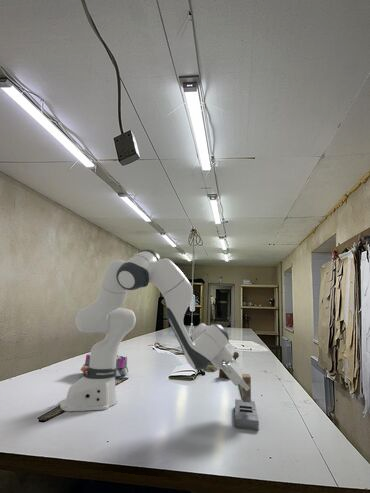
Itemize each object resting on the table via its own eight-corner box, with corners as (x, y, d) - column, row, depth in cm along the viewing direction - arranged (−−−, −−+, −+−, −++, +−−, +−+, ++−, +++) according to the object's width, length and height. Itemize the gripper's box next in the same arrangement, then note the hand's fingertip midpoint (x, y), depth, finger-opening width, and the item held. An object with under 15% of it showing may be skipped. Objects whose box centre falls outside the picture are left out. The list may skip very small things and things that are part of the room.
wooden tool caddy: (242, 375, 184) (242, 352, 186) (230, 379, 171) (230, 355, 174) (230, 373, 188) (231, 351, 191) (218, 377, 176) (218, 353, 179)
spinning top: (103, 382, 150) (108, 350, 154) (68, 374, 165) (73, 345, 169) (138, 378, 172) (141, 350, 176) (104, 371, 186) (107, 346, 190)
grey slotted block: (235, 427, 105) (235, 418, 105) (235, 406, 126) (235, 399, 127) (258, 430, 104) (258, 420, 104) (254, 408, 125) (254, 401, 125)
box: (223, 364, 208) (223, 357, 208) (214, 376, 187) (214, 368, 187) (212, 363, 211) (212, 356, 211) (202, 375, 190) (201, 367, 190)
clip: (242, 401, 113) (242, 376, 115) (242, 397, 119) (242, 373, 120) (250, 402, 113) (250, 377, 114) (250, 398, 118) (249, 374, 120)
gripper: (228, 357, 110) (255, 388, 106) (229, 350, 130) (252, 375, 126) (215, 369, 110) (242, 400, 106) (218, 360, 130) (241, 386, 126)
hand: (247, 386), depth 116 cm, fingers closed on clip, 6 cm apart
